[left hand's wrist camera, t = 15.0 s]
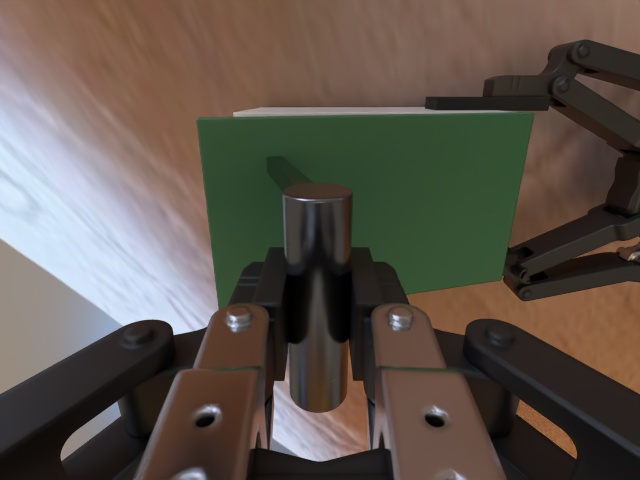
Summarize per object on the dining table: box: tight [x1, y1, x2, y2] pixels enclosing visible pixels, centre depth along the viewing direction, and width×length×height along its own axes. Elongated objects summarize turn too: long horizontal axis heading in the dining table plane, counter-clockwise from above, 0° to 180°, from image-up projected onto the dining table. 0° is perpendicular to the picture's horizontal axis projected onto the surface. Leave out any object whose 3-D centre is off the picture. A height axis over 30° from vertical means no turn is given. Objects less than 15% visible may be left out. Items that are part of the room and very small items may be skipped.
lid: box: [197, 112, 534, 413], centre depth 15 cm, size 16×9×9 cm, turn 91°
